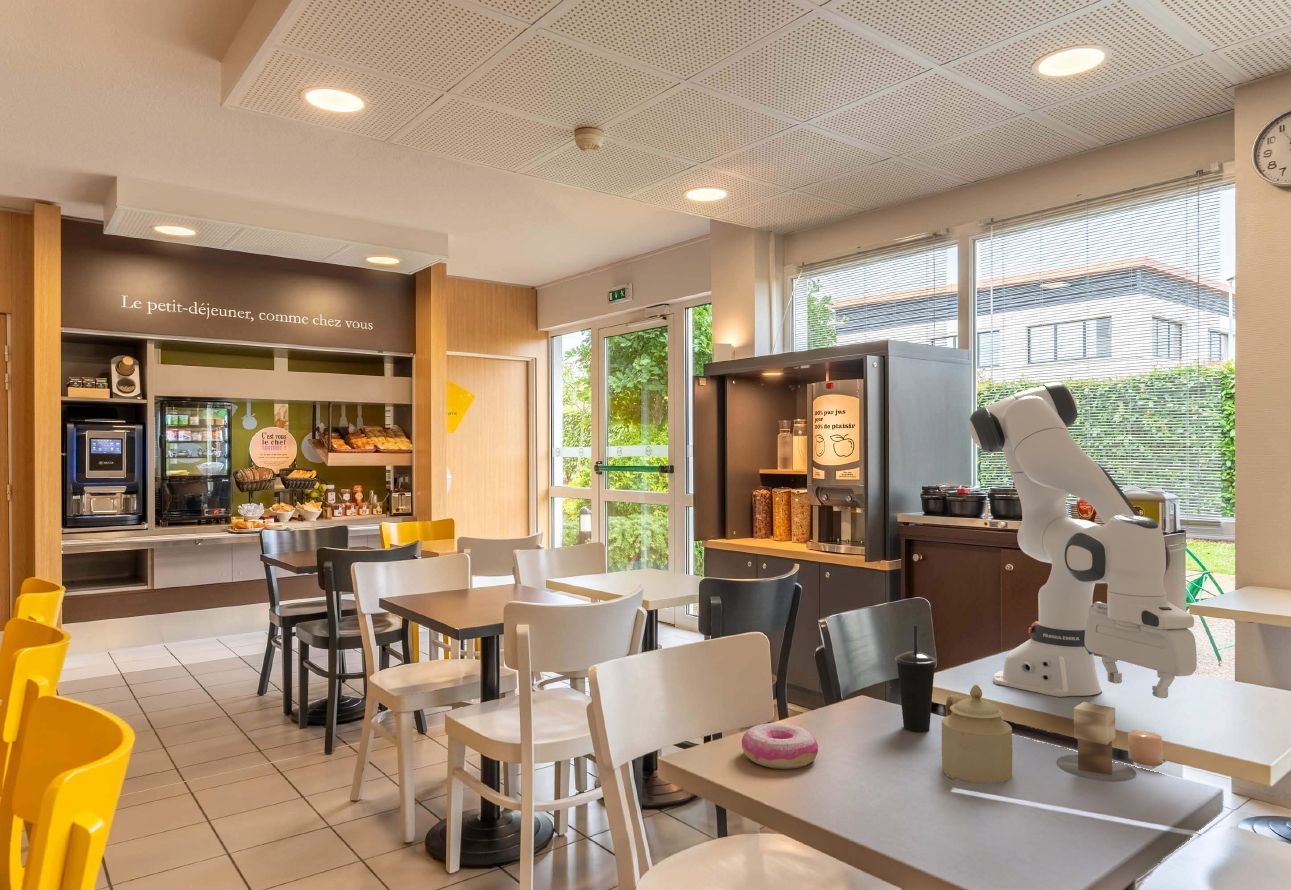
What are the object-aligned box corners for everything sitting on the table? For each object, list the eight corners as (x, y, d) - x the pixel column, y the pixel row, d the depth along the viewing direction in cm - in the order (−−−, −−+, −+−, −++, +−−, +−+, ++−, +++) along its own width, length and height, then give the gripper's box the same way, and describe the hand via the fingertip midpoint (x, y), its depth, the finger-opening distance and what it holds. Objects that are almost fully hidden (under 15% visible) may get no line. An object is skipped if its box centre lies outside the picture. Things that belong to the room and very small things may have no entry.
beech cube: (1074, 737, 140) (1073, 708, 140) (1083, 730, 144) (1083, 701, 144) (1106, 744, 137) (1106, 714, 137) (1115, 737, 140) (1115, 707, 140)
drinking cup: (896, 732, 160) (894, 628, 160) (896, 720, 167) (895, 621, 168) (937, 736, 158) (936, 631, 158) (936, 723, 165) (935, 623, 165)
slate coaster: (1047, 772, 139) (1047, 769, 139) (1065, 753, 148) (1065, 749, 148) (1129, 790, 132) (1129, 786, 132) (1142, 768, 141) (1142, 765, 141)
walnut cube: (1078, 769, 139) (1077, 739, 139) (1079, 759, 143) (1078, 730, 144) (1112, 774, 137) (1111, 744, 137) (1112, 765, 141) (1111, 735, 141)
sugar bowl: (910, 762, 144) (909, 676, 145) (952, 751, 150) (951, 667, 150) (983, 792, 132) (982, 697, 132) (1027, 778, 137) (1026, 687, 137)
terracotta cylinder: (1126, 764, 143) (1125, 735, 143) (1131, 756, 147) (1130, 728, 147) (1160, 771, 140) (1159, 741, 140) (1164, 763, 144) (1163, 734, 144)
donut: (776, 779, 138) (776, 749, 138) (725, 755, 149) (725, 728, 149) (834, 762, 145) (833, 734, 145) (781, 741, 156) (781, 714, 156)
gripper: (1075, 600, 153) (1075, 675, 153) (1172, 620, 133) (1173, 707, 133) (1103, 599, 155) (1103, 673, 154) (1203, 619, 135) (1204, 704, 135)
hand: (1136, 689), depth 144 cm, fingers open, 8 cm apart
